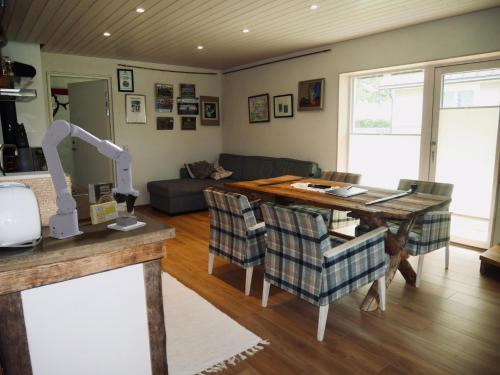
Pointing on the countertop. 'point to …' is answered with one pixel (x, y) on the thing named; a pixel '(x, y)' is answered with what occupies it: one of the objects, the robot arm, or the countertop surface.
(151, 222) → the countertop surface
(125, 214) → the birch block
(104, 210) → the candy box
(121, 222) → the white grey square pedestal
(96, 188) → the coffee box
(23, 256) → the countertop surface
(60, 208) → the robot arm
